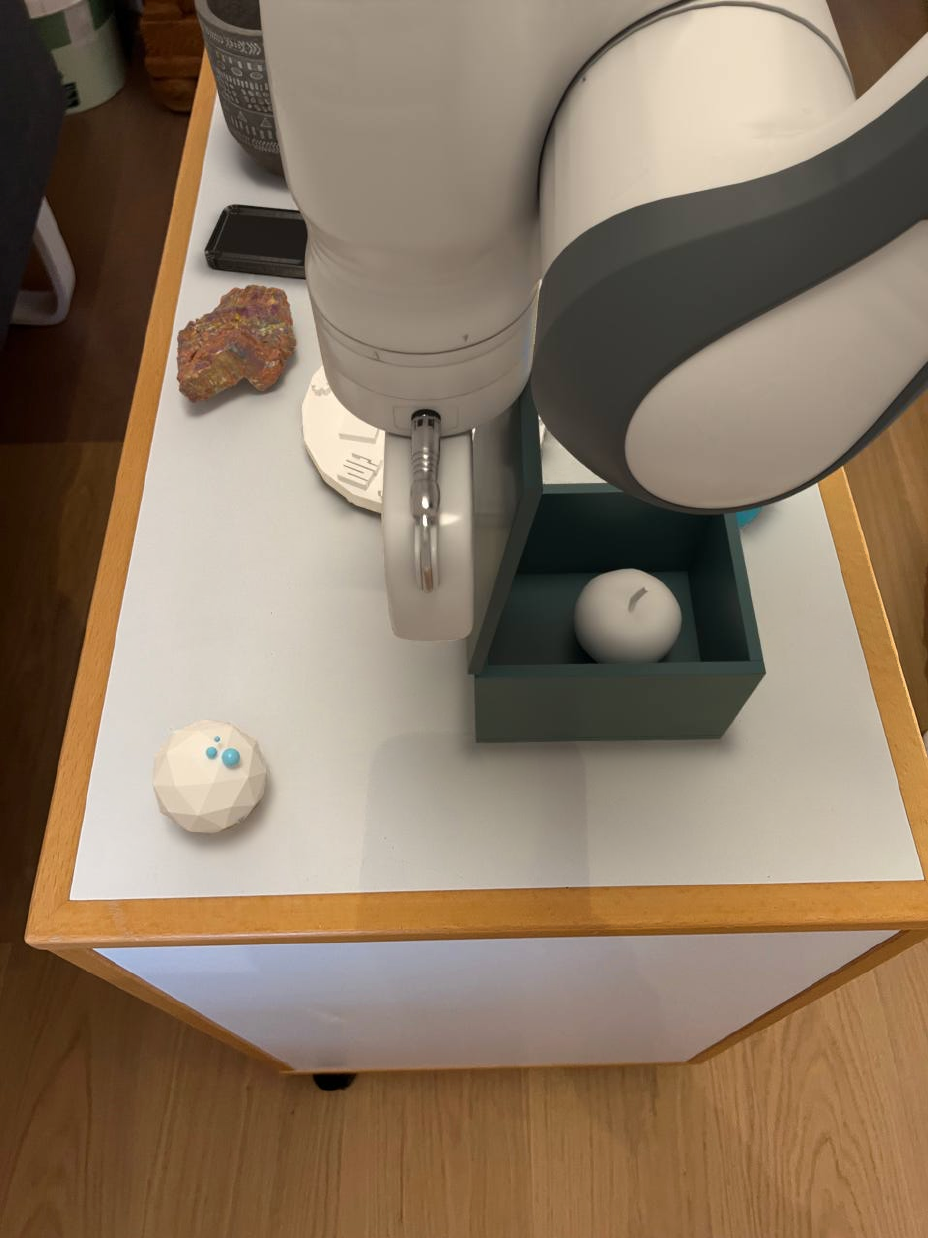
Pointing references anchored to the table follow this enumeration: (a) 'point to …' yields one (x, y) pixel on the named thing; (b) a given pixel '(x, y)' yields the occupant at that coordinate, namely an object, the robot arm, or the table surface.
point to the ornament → (209, 776)
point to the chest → (622, 692)
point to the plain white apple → (627, 618)
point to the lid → (502, 512)
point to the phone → (259, 241)
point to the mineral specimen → (236, 343)
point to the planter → (241, 76)
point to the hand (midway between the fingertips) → (437, 521)
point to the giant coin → (347, 446)
